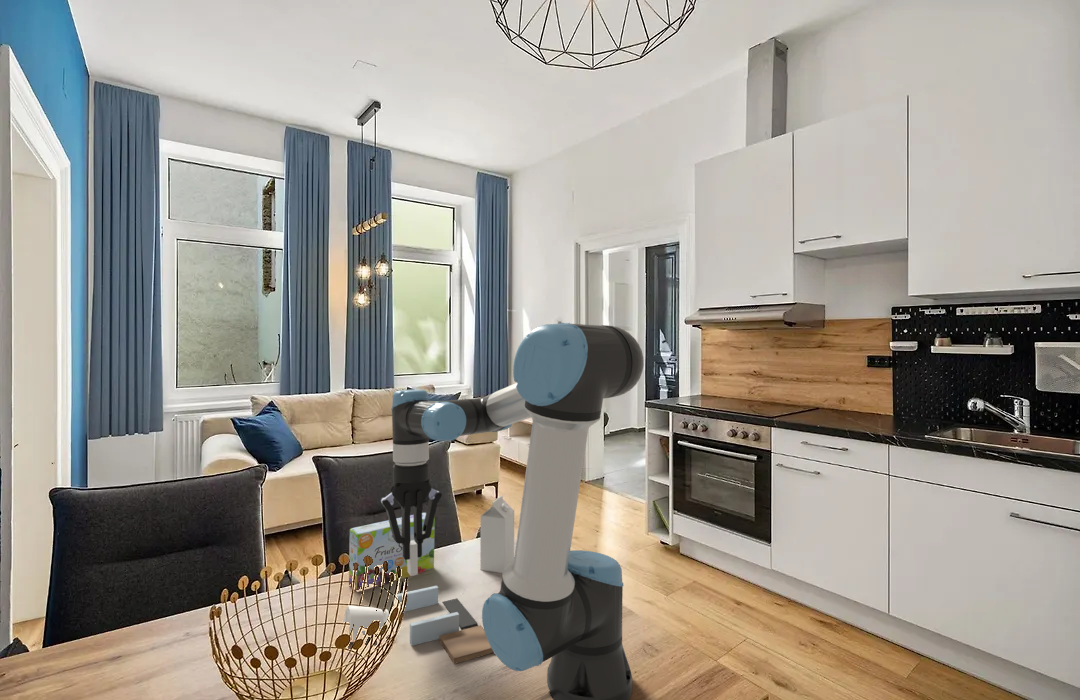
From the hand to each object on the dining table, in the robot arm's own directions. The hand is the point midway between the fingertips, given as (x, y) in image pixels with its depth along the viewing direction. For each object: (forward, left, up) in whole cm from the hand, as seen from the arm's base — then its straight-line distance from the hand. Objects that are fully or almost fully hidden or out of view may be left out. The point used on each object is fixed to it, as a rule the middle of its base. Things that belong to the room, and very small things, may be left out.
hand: (412, 573), depth 115 cm
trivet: (-12, -8, -12) cm, 19 cm away
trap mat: (+1, -11, -12) cm, 16 cm away
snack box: (+26, -2, -12) cm, 28 cm away
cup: (-1, +5, -10) cm, 11 cm away
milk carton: (+19, -28, -12) cm, 36 cm away
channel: (+1, -3, -12) cm, 12 cm away
